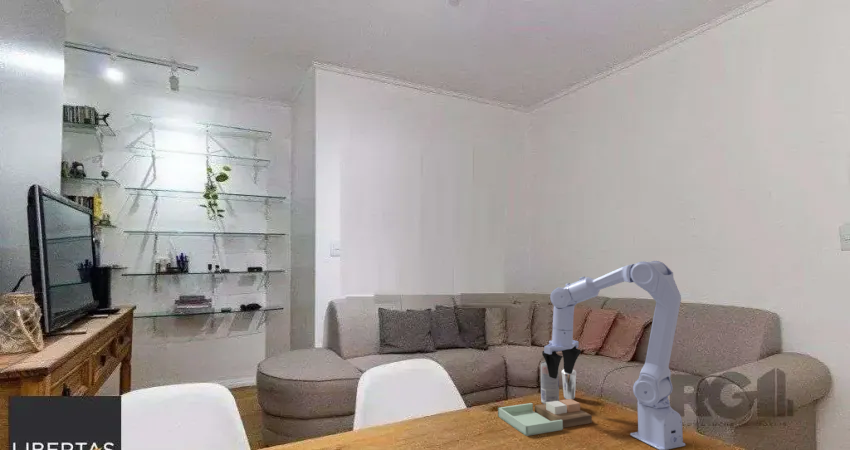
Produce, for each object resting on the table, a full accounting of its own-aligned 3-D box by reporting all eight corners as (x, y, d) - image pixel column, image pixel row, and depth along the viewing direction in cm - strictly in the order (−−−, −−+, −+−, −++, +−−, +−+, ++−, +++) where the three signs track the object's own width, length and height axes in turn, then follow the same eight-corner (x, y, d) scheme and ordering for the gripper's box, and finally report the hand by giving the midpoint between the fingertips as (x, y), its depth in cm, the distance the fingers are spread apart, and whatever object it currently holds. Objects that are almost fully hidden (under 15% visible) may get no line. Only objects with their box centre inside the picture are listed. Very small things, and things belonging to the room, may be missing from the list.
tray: (562, 429, 114) (562, 420, 114) (526, 436, 110) (526, 426, 110) (531, 411, 127) (531, 402, 128) (497, 416, 123) (497, 407, 124)
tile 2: (580, 410, 123) (579, 403, 123) (568, 412, 121) (568, 405, 121) (570, 405, 126) (570, 398, 126) (559, 407, 125) (559, 400, 125)
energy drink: (557, 400, 137) (556, 361, 138) (560, 406, 132) (560, 365, 132) (539, 399, 137) (539, 361, 138) (542, 405, 132) (542, 365, 133)
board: (591, 422, 119) (591, 415, 119) (561, 428, 115) (561, 420, 116) (563, 408, 130) (563, 401, 130) (534, 412, 127) (534, 405, 127)
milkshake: (579, 396, 141) (578, 364, 141) (575, 401, 136) (574, 368, 137) (564, 393, 143) (564, 362, 144) (560, 398, 138) (559, 366, 139)
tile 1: (566, 412, 121) (566, 405, 121) (555, 414, 120) (554, 407, 120) (557, 407, 125) (557, 400, 125) (546, 409, 123) (545, 402, 123)
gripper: (564, 323, 135) (562, 367, 135) (536, 328, 126) (533, 375, 126) (585, 328, 130) (583, 373, 130) (557, 333, 121) (555, 382, 120)
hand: (560, 375), depth 127 cm, fingers open, 7 cm apart
